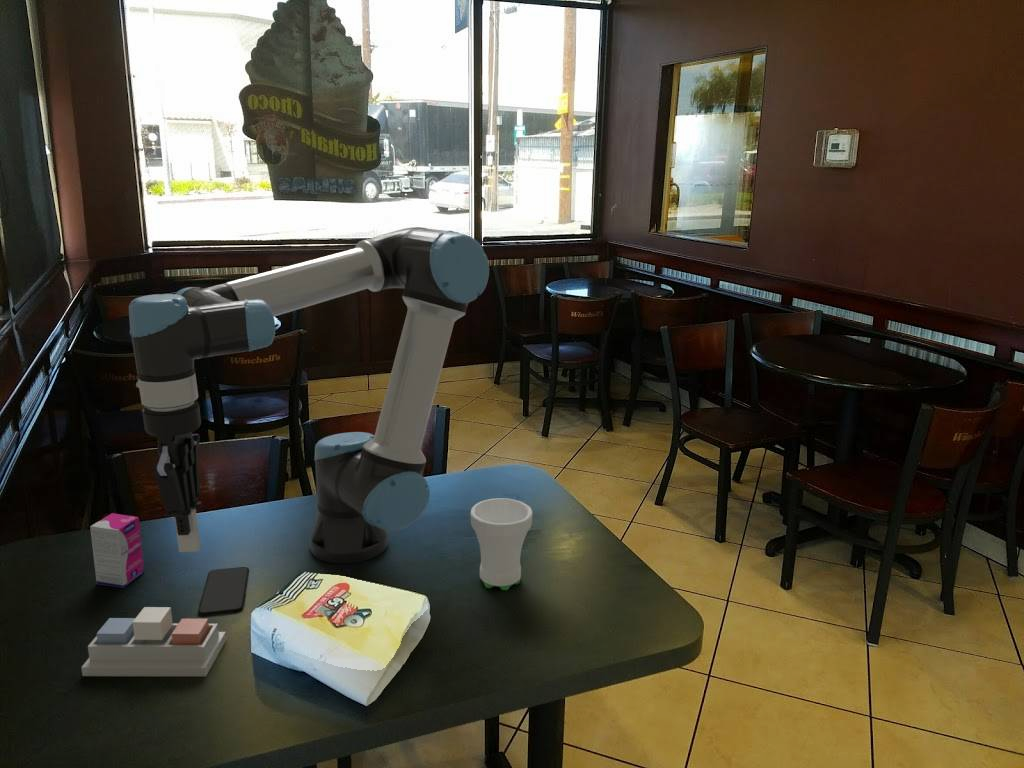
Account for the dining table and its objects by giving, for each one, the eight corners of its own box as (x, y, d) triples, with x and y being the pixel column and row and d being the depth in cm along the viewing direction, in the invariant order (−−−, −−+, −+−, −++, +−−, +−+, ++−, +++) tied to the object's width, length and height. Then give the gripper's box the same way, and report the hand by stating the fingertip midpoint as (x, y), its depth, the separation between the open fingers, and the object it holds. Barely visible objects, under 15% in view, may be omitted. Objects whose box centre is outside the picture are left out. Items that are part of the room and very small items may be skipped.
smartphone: (250, 565, 143) (243, 608, 129) (250, 570, 143) (243, 613, 129) (208, 569, 141) (196, 613, 127) (208, 574, 141) (197, 618, 127)
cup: (457, 580, 140) (457, 510, 136) (499, 559, 148) (500, 492, 144) (501, 604, 133) (503, 531, 129) (542, 581, 141) (545, 511, 137)
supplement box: (124, 588, 135) (117, 530, 132) (95, 584, 136) (87, 526, 133) (146, 572, 140) (139, 515, 137) (118, 568, 142) (110, 512, 138)
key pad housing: (226, 639, 121) (224, 618, 120) (205, 676, 113) (203, 653, 112) (111, 639, 121) (108, 617, 120) (82, 676, 112) (78, 652, 111)
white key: (172, 624, 117) (170, 607, 117) (162, 639, 114) (159, 622, 113) (146, 624, 117) (144, 607, 116) (134, 639, 114) (132, 622, 113)
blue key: (138, 635, 118) (135, 618, 117) (126, 651, 114) (123, 633, 113) (111, 634, 118) (109, 618, 117) (99, 650, 114) (96, 633, 113)
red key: (209, 635, 118) (208, 618, 117) (200, 651, 114) (198, 634, 114) (183, 635, 118) (181, 618, 117) (173, 651, 114) (171, 633, 113)
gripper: (161, 390, 115) (180, 529, 122) (124, 419, 103) (147, 572, 110) (211, 389, 116) (227, 528, 123) (180, 418, 103) (200, 571, 110)
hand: (189, 549), depth 116 cm, fingers closed
